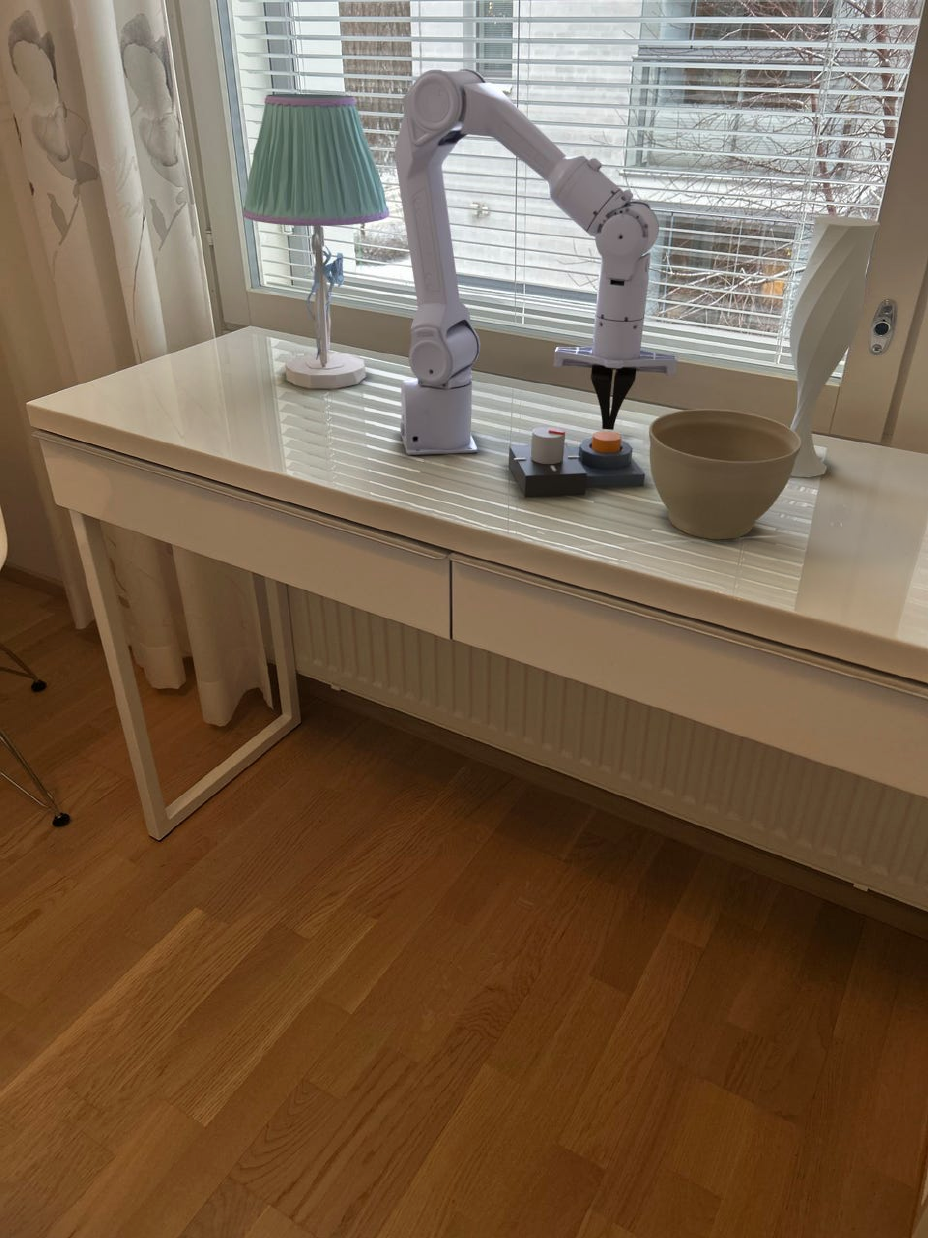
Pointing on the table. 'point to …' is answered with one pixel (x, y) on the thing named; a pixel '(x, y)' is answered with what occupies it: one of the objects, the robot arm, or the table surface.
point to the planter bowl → (720, 468)
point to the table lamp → (316, 203)
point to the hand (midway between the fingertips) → (608, 426)
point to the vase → (826, 317)
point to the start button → (606, 442)
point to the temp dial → (547, 445)
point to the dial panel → (546, 474)
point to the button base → (609, 466)
